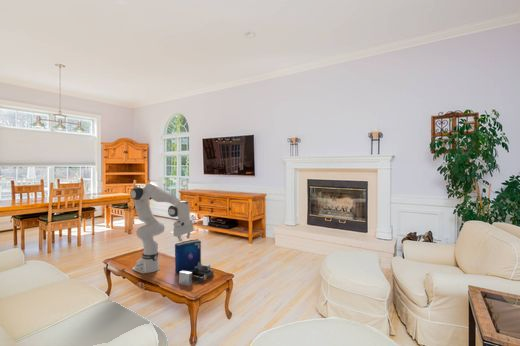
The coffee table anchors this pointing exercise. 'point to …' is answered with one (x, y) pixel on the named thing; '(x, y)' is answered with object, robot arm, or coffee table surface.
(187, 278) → the block
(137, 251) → the coffee table surface
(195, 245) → the book
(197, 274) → the rack
